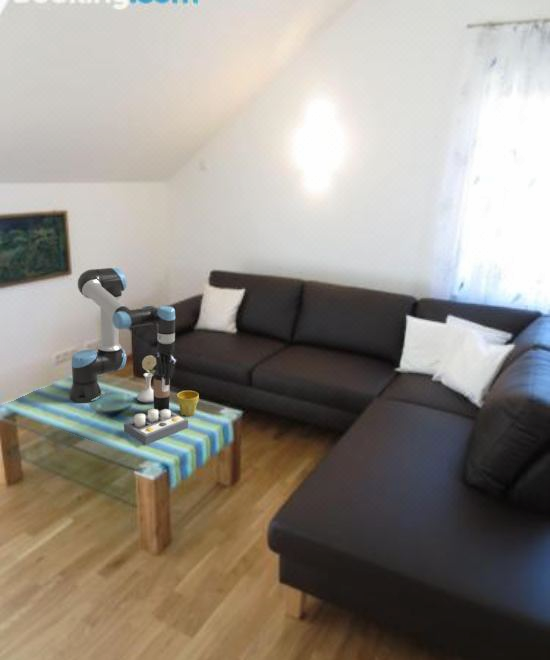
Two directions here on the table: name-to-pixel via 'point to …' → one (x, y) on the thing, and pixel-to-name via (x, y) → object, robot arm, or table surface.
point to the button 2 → (152, 416)
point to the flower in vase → (147, 379)
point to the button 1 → (139, 420)
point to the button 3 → (165, 413)
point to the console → (155, 435)
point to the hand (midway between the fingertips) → (165, 390)
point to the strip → (162, 425)
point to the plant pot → (187, 402)
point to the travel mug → (160, 393)
